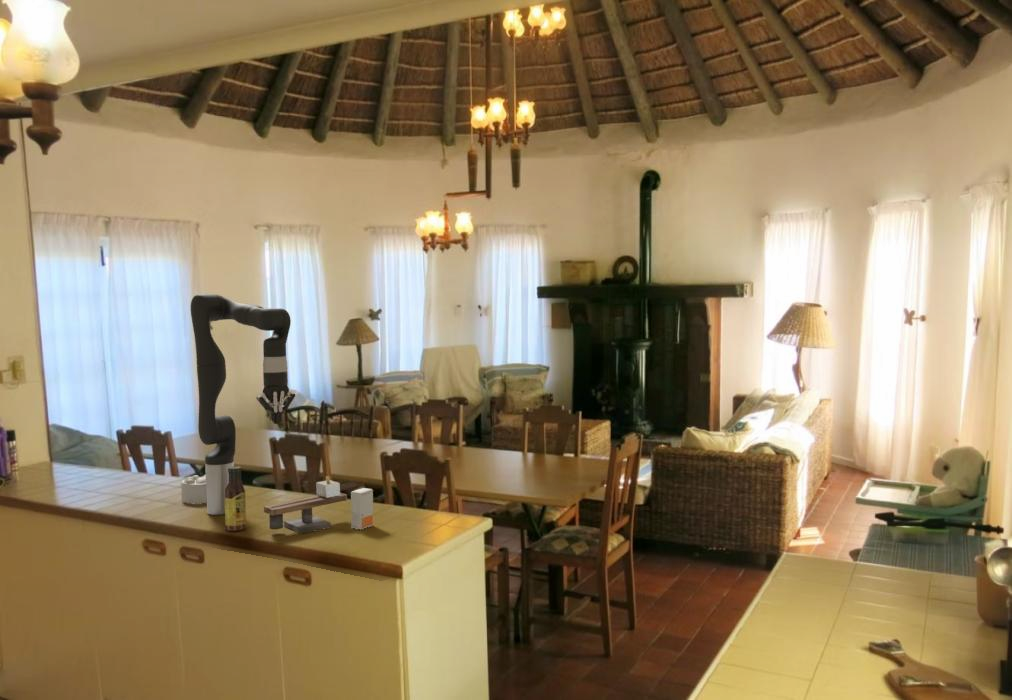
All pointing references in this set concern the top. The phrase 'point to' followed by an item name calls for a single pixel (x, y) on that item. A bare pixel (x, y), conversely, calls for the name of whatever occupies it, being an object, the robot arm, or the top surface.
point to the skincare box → (362, 508)
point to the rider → (327, 488)
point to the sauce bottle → (235, 501)
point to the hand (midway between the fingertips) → (276, 423)
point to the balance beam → (307, 519)
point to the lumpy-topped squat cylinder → (194, 489)
